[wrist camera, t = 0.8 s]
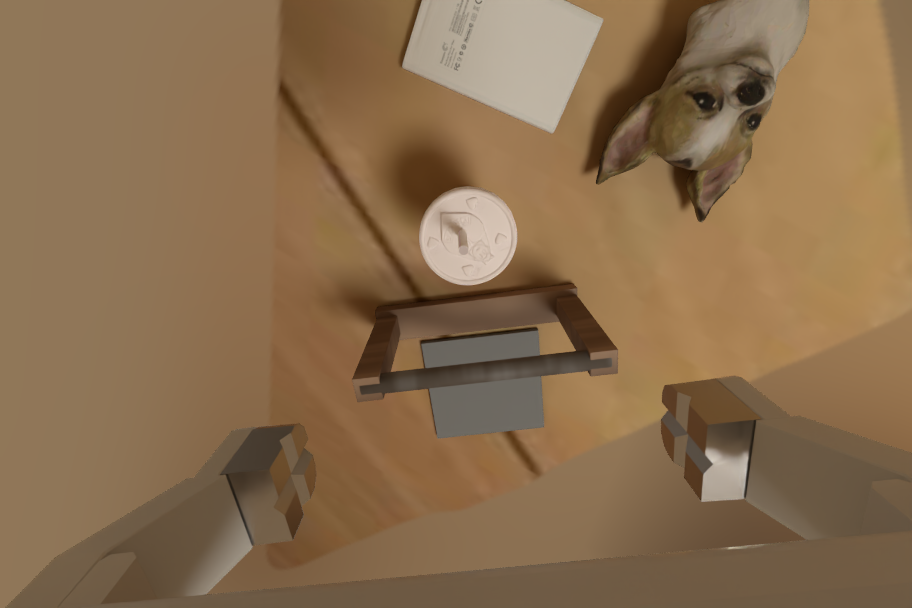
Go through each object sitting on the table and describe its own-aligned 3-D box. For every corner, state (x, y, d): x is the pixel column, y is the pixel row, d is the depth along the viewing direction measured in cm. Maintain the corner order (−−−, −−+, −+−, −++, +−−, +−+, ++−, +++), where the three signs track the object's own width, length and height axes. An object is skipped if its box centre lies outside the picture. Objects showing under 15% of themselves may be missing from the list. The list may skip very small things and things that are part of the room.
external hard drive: (549, 133, 35) (403, 69, 33) (598, 23, 32) (441, -54, 30) (553, 133, 33) (400, 66, 31) (605, 17, 30) (440, -64, 29)
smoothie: (465, 156, 35) (471, 170, 22) (518, 213, 36) (554, 257, 23) (411, 213, 36) (387, 257, 23) (464, 264, 38) (470, 332, 25)
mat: (421, 341, 41) (421, 343, 40) (537, 328, 40) (538, 330, 40) (437, 435, 45) (437, 438, 44) (543, 424, 44) (544, 427, 44)
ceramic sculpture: (914, -4, 24) (750, 245, 30) (802, 24, 31) (691, 216, 37) (745, -82, 22) (610, 194, 28) (673, -33, 30) (579, 175, 36)
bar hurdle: (377, 307, 40) (348, 372, 29) (573, 283, 39) (620, 342, 28) (383, 336, 41) (357, 410, 30) (574, 314, 40) (619, 381, 29)
